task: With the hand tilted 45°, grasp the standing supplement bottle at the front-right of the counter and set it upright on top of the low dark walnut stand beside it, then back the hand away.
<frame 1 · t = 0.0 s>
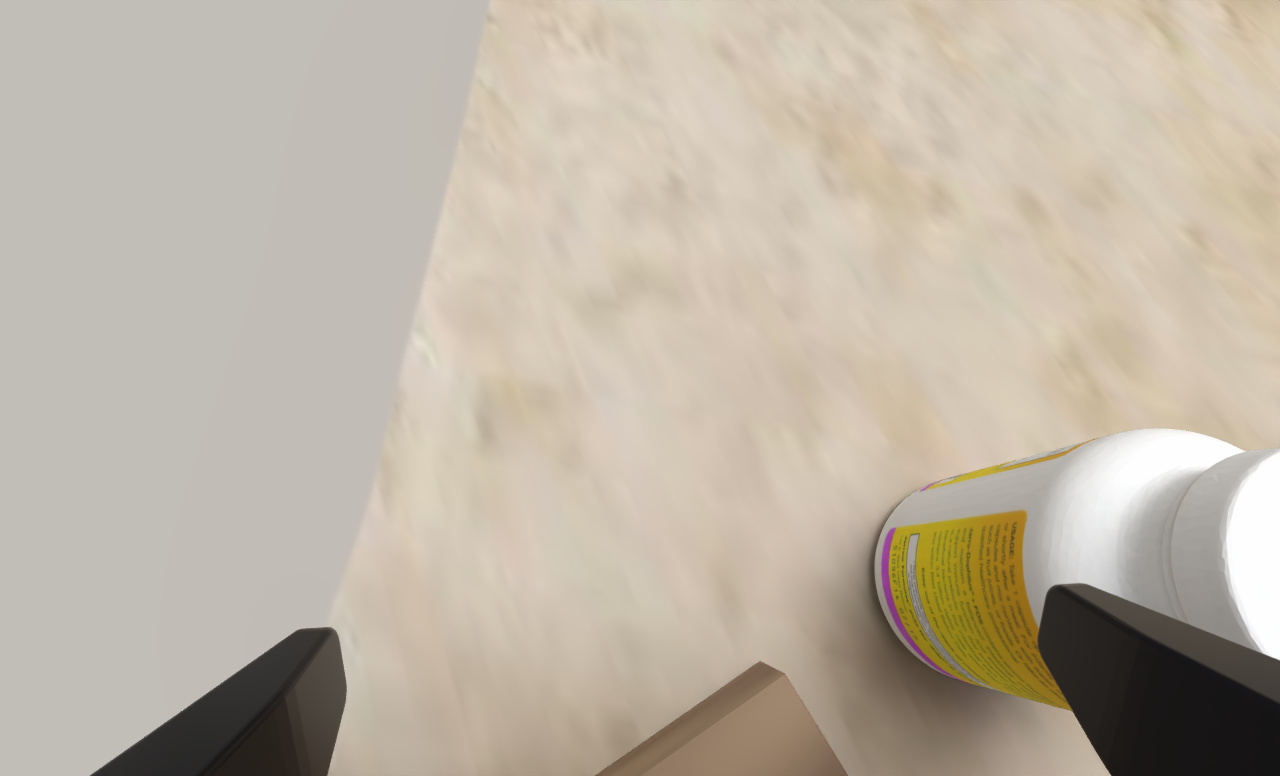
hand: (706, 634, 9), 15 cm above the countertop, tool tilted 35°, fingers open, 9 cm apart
supplement bottle: (959, 576, 24), on the countertop
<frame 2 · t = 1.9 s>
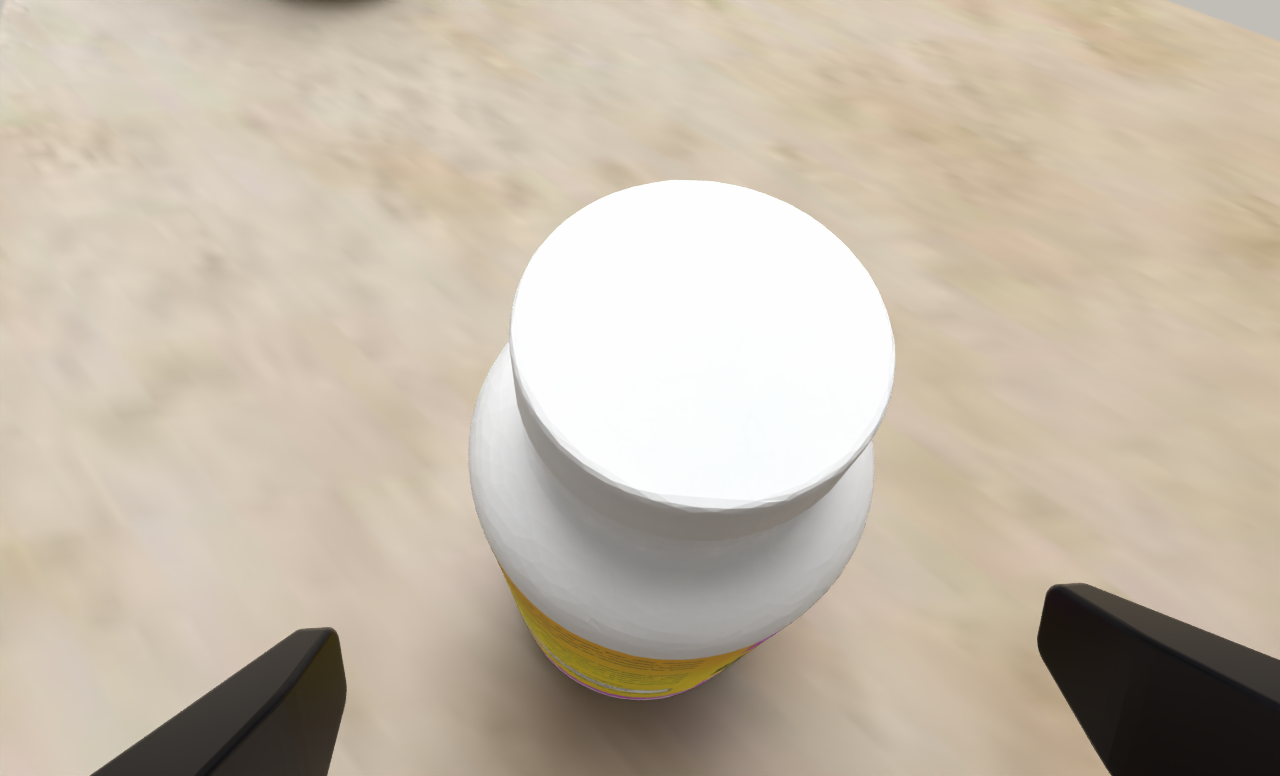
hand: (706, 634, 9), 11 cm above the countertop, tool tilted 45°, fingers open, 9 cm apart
supplement bottle: (638, 574, 20), on the countertop
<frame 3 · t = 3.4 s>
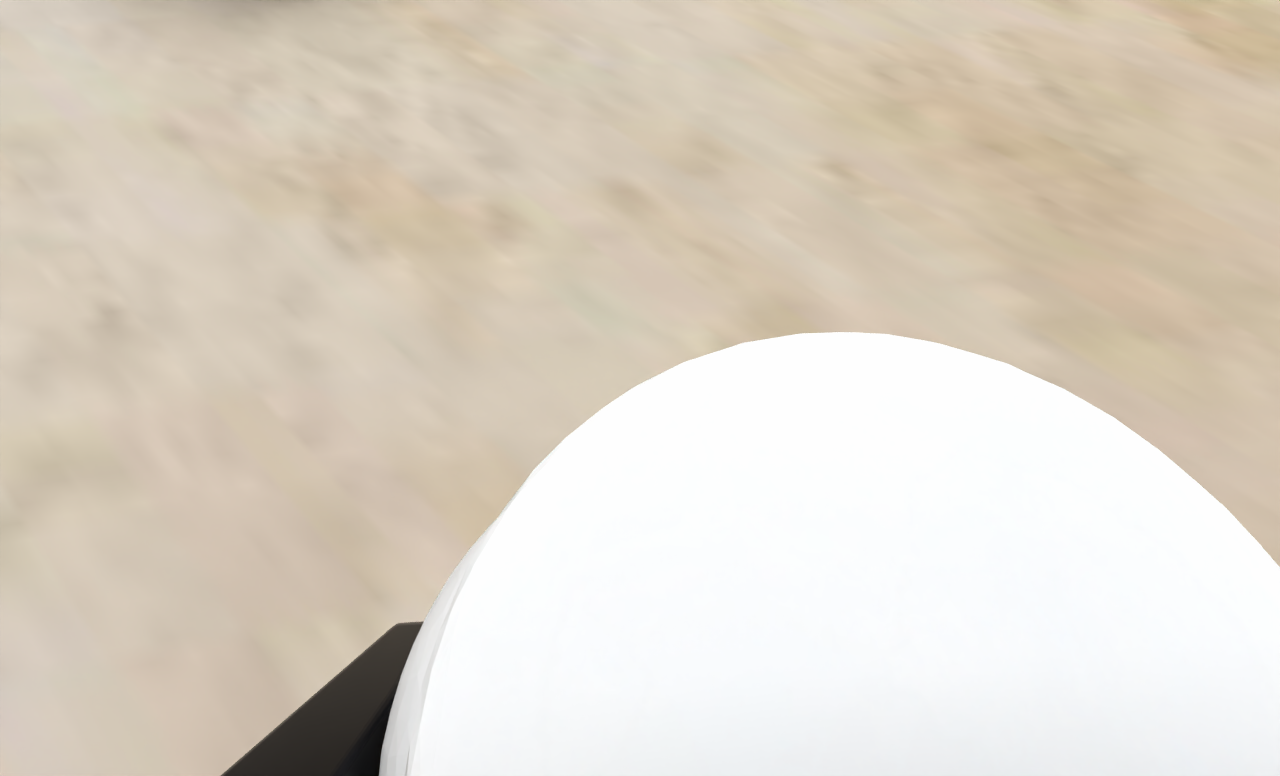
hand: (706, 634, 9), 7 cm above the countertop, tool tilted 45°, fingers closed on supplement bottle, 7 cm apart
supplement bottle: (662, 753, 15), on the countertop, touching gripper
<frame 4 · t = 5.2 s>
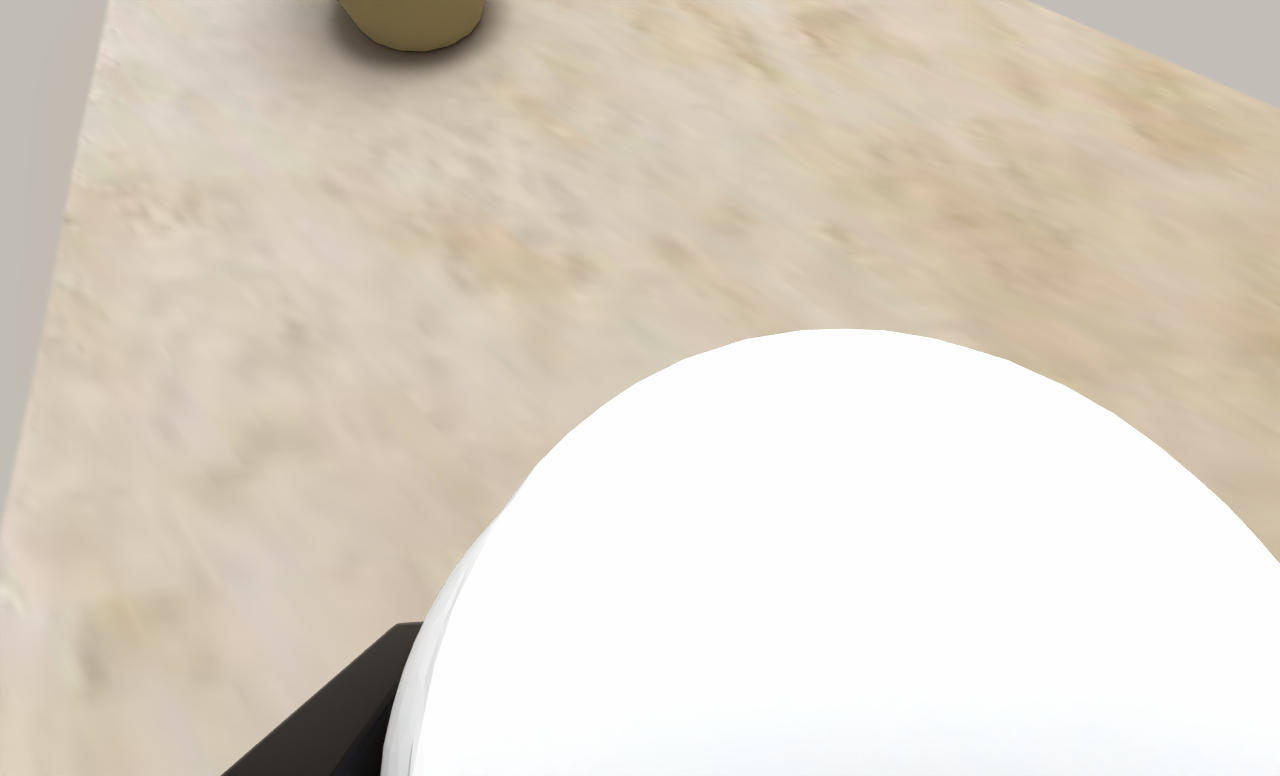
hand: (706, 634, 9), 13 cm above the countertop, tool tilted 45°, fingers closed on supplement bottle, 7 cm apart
supplement bottle: (663, 751, 15), point 6 cm above the countertop, touching gripper
squeeze bottle: (421, 16, 33), on the countertop
when the fingers open (11 cm above the countertop, at t = 7.0 s): supplement bottle drops 1 cm, resting on walnut stand.
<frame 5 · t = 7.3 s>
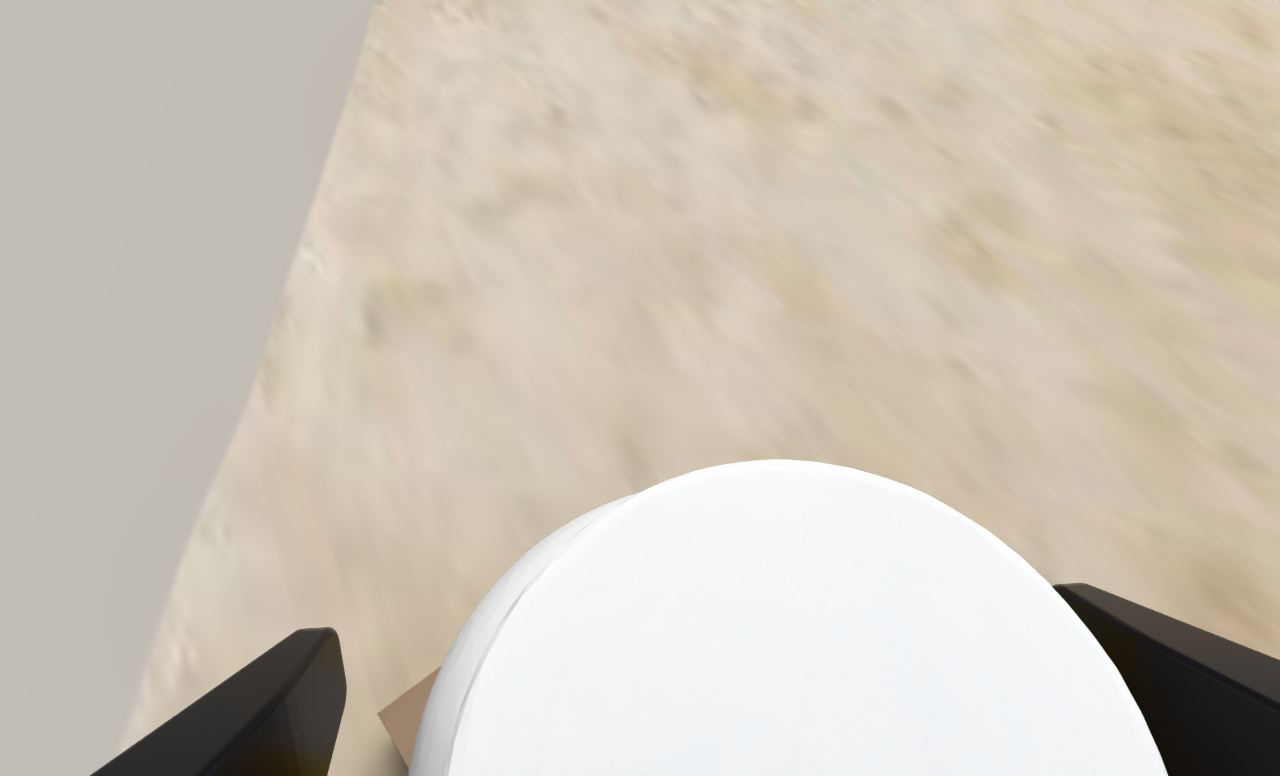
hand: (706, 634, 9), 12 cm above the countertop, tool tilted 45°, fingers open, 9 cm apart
supplement bottle: (657, 761, 16), point 3 cm above the countertop, touching walnut stand
walnut stand: (648, 751, 18), on the countertop
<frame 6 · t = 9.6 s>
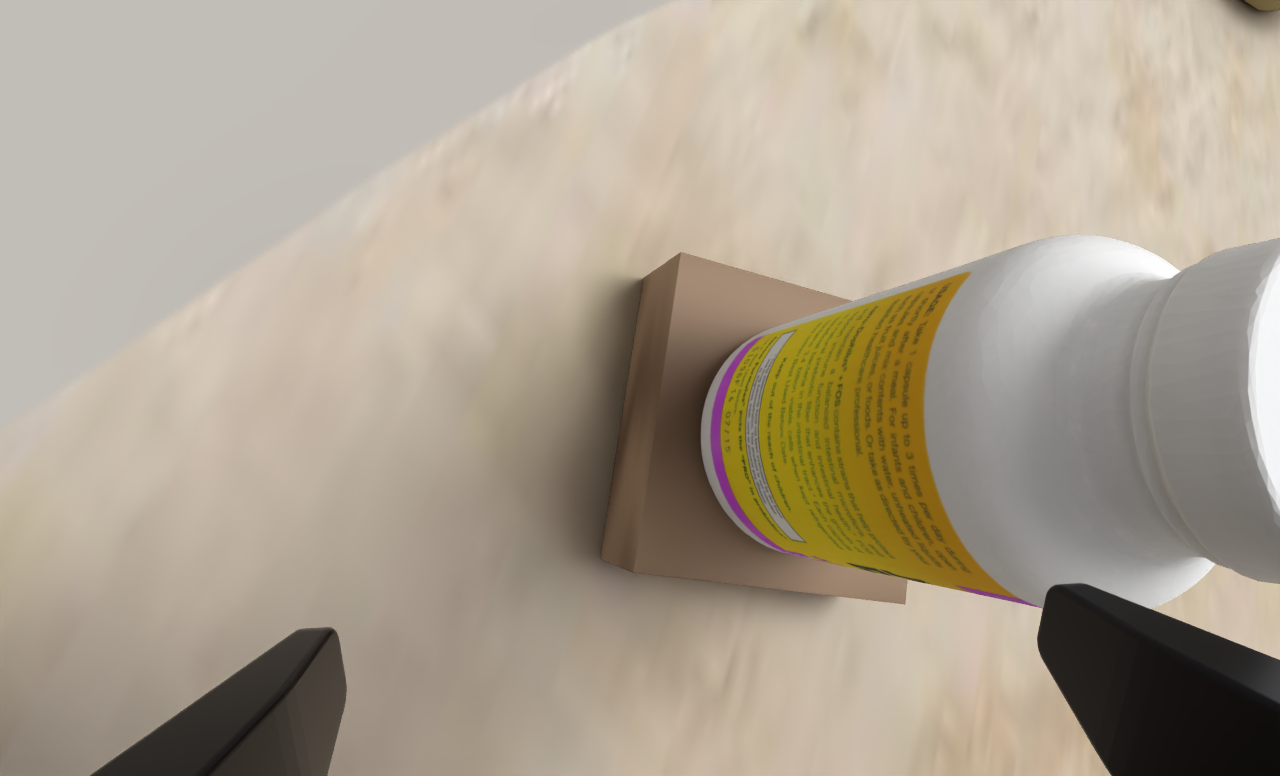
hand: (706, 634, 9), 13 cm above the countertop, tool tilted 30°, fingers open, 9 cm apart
supplement bottle: (790, 438, 21), point 3 cm above the countertop, touching walnut stand
walnut stand: (747, 438, 24), on the countertop
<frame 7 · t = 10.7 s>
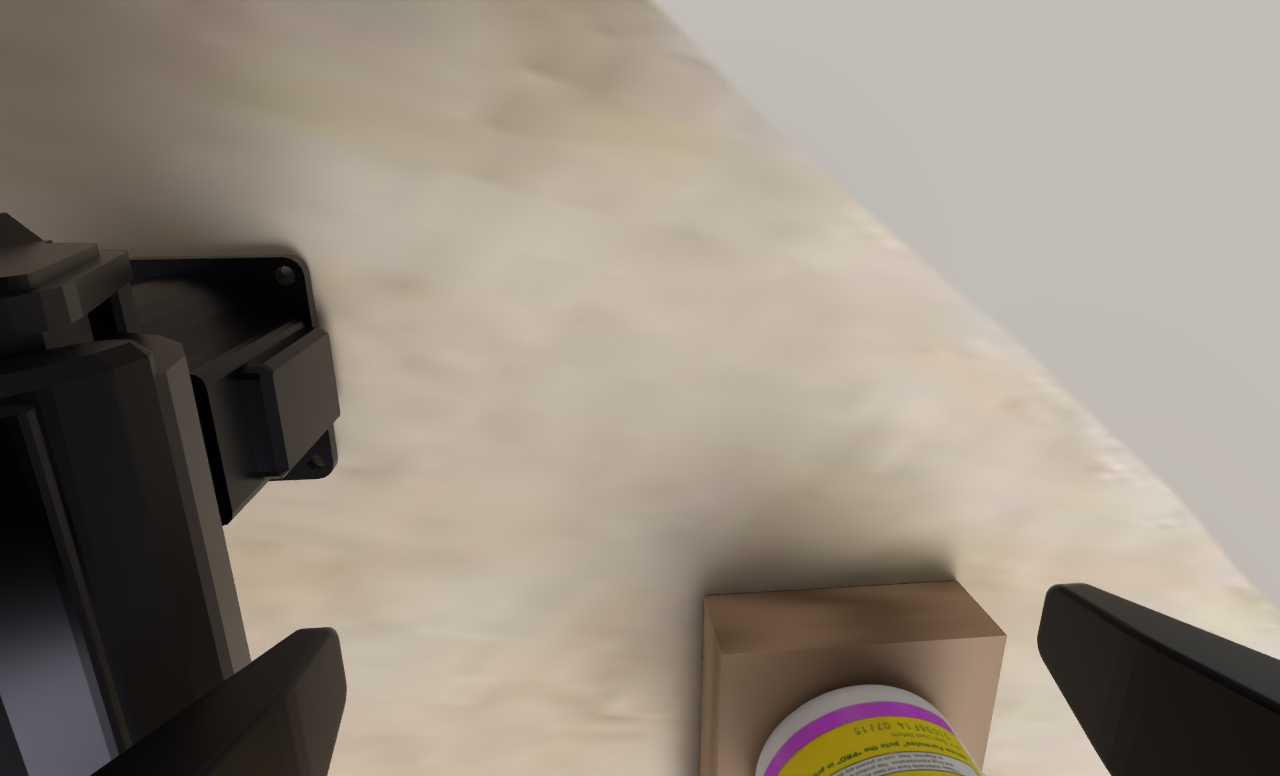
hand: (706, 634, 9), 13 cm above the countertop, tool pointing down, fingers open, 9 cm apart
supplement bottle: (847, 753, 23), point 3 cm above the countertop, touching walnut stand
walnut stand: (822, 694, 26), on the countertop
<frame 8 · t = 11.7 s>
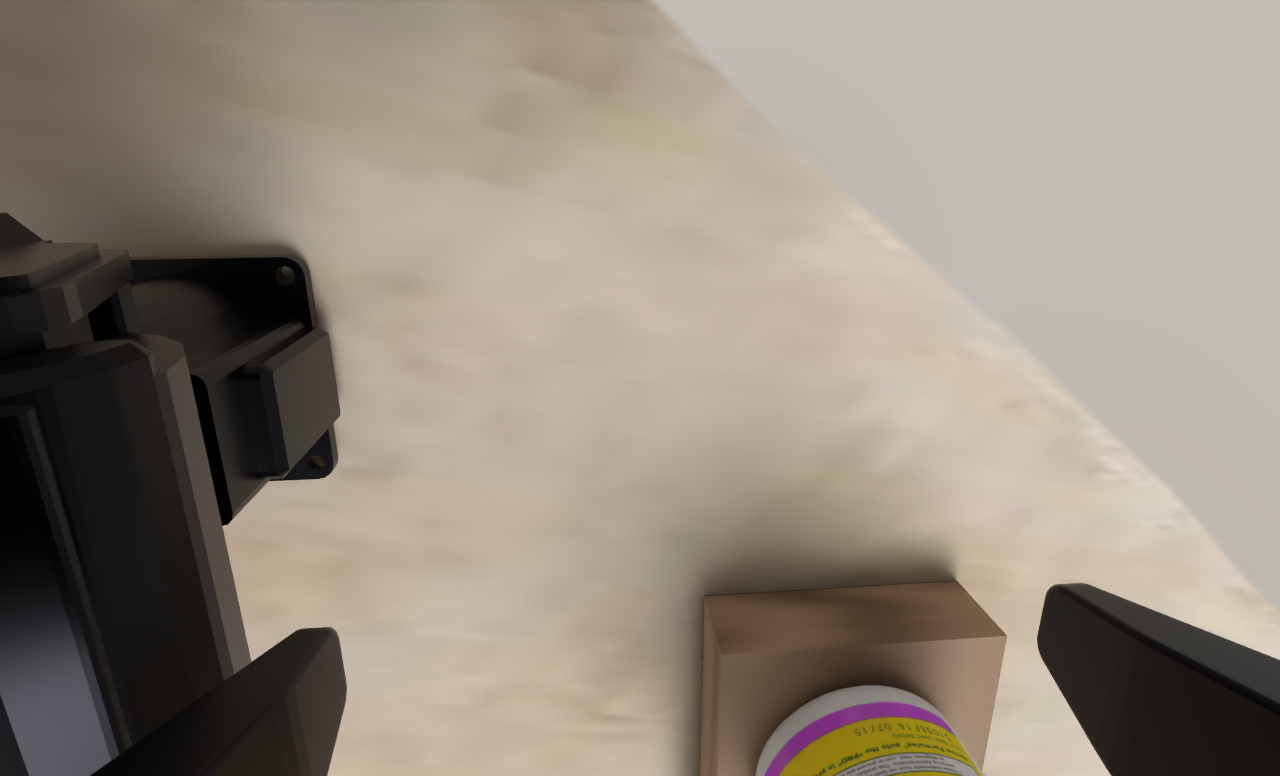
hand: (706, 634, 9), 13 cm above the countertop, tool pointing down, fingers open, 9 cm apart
supplement bottle: (847, 754, 23), point 3 cm above the countertop, touching walnut stand
walnut stand: (822, 694, 26), on the countertop
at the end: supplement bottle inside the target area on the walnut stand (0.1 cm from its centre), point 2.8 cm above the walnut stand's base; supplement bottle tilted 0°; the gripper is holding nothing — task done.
